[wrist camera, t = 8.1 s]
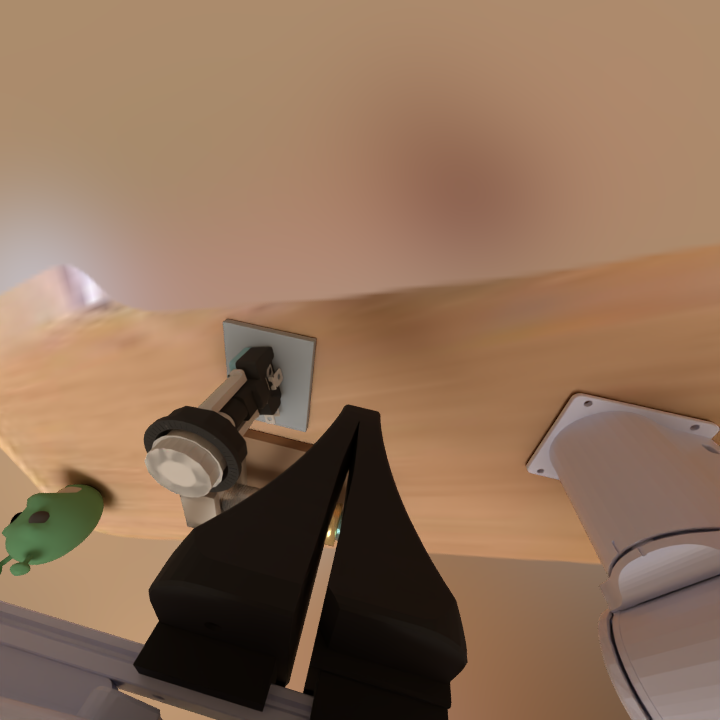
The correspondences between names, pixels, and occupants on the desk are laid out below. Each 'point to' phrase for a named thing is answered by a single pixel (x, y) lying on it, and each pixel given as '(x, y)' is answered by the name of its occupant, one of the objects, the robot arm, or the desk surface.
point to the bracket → (252, 472)
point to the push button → (214, 429)
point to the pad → (279, 366)
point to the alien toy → (51, 526)
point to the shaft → (244, 491)
